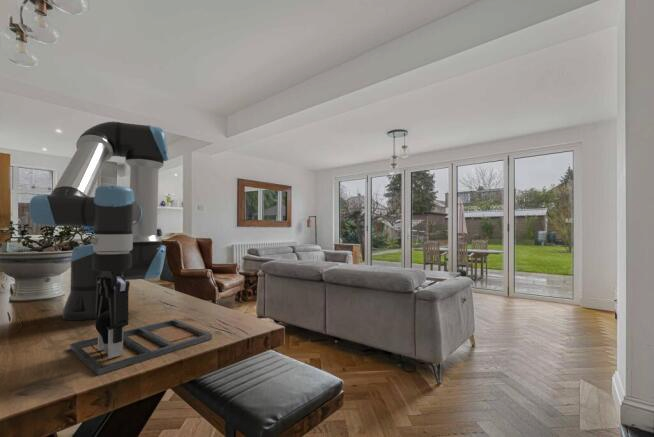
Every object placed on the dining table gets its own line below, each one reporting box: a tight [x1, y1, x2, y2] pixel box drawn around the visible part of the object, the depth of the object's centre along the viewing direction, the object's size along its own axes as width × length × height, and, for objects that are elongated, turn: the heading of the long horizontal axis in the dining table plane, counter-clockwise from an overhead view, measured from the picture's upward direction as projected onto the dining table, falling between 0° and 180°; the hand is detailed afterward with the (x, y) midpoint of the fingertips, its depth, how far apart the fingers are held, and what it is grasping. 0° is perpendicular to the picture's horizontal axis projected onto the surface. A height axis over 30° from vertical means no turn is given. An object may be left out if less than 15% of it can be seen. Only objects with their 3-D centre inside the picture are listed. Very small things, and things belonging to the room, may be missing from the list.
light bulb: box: [94, 310, 126, 354], centre depth 71 cm, size 6×6×10 cm
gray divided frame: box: [69, 318, 213, 376], centre depth 77 cm, size 20×25×1 cm
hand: (109, 352), depth 71 cm, fingers open, 6 cm apart
